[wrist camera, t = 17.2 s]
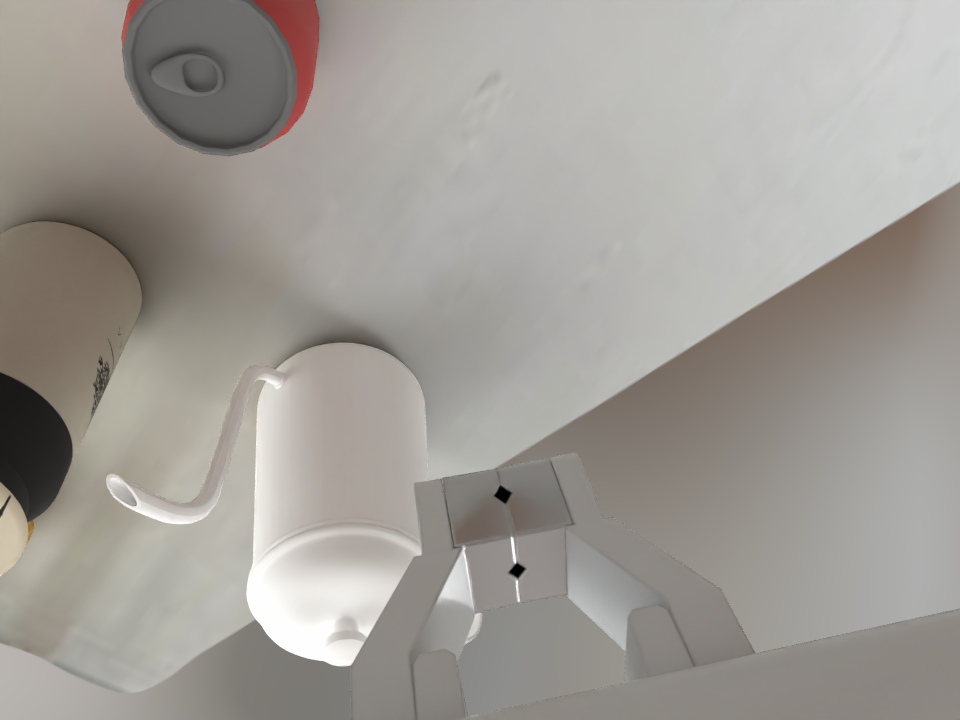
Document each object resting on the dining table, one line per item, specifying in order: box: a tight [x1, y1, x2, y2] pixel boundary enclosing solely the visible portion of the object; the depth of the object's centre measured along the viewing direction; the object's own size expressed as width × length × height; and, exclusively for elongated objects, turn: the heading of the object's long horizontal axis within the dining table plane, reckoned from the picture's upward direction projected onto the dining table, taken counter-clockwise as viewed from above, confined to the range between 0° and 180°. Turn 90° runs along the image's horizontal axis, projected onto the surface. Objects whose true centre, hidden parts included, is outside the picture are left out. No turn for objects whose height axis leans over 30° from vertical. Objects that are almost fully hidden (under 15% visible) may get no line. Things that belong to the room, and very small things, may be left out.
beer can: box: [122, 0, 319, 156], centre depth 28 cm, size 7×7×12 cm
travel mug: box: [0, 221, 142, 576], centre depth 32 cm, size 8×8×18 cm
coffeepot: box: [106, 343, 482, 666], centre depth 39 cm, size 11×25×19 cm, turn 37°
